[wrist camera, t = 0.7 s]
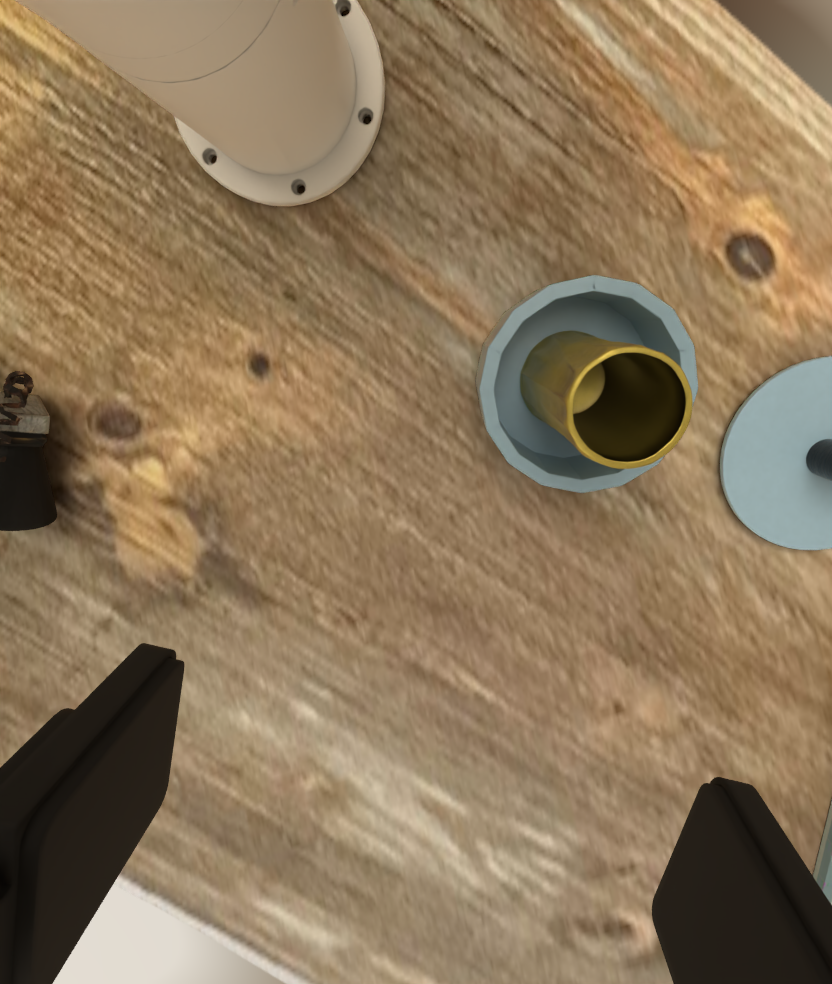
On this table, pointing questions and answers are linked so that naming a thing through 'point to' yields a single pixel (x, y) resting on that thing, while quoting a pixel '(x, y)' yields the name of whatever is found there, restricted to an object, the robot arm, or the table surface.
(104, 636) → the table surface
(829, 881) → the calendar
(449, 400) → the table surface
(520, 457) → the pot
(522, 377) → the vase
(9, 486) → the telephone
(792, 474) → the lid
